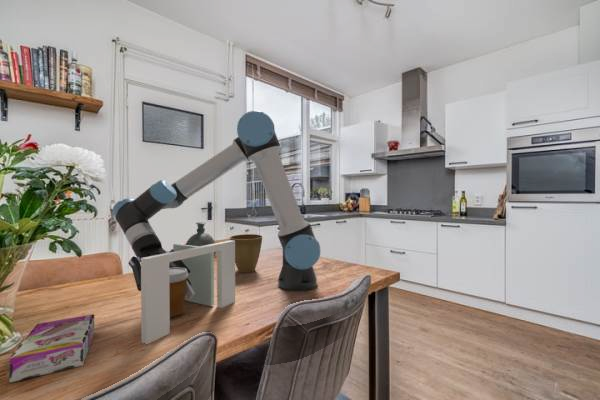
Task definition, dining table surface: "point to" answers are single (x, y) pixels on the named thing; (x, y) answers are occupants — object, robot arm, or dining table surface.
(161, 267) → the door frame
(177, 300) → the disposable coffee cup
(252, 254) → the plant pot
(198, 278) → the door
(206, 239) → the flask
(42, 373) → the candy bar box
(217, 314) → the dining table surface
